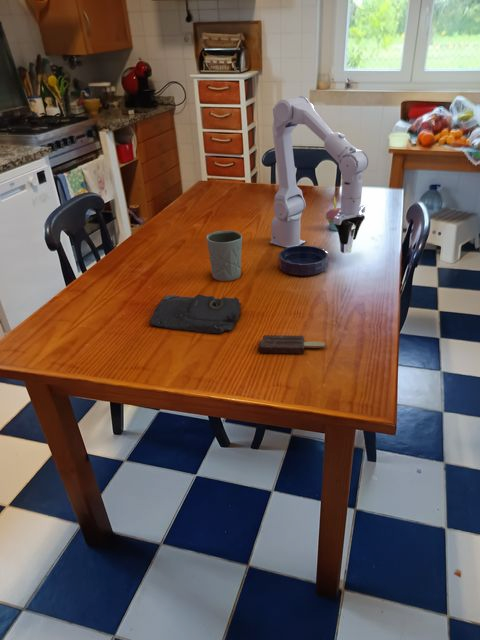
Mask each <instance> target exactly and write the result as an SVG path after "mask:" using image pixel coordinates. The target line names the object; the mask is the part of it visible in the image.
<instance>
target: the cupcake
mask: <svg viewBox="0 0 480 640" xmlns="http://www.w3.org/2000/svg"><path fill="white" fill-rule="evenodd" d="M336 198H337V197H335V195H333V208H331V209H329V210H328V211H327V212H326V213H325V219H326V220H327V221H328V223H329V224H328V225H329V227H330V230H332V231H337V228H336V226H335V224H334V217H336V216H337V214H338V213H339V211H340V209H341V207H337V199H336Z"/></svg>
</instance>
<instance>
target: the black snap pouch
mask: <svg viewBox="0 0 480 640" xmlns="http://www.w3.org/2000/svg"><path fill="white" fill-rule="evenodd" d="M241 305H242V303H241V302H240V299H239V298H238V297H226V296H222V297H221V298H216V297H215V296H214V295H209V296H208V295H204V294H197V295H195V296H194V297H193V296H179V295H174V294H173V295H169V294H168V295H165V296H164V297H163V298H162V299H160V301H159V303H158V304H157V305H156V306H155V308H154V310H153V312H152V315H150V318H149V319H150V320H149V321H150V322H149V325H151V326H155V327H158V328H162V329H169V330H175V331H183V332H192V333H193V332H194V333H195V332H196V333H204V334H205V333H207V334H219V335H220V334H222V333H224V332H231V331H232V330H233V329H235V324H236V323H237V321H238V320H239V317H240V314H241V309H242V308H241Z"/></svg>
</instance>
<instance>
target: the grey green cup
mask: <svg viewBox="0 0 480 640" xmlns="http://www.w3.org/2000/svg"><path fill="white" fill-rule="evenodd" d="M205 238H206V244H207V250H208V253H209V262H210V266H211V267H210V268H211V269H210V270H211V275H212V278H213V279H214V280H217V281H218V282H219V281H220V282H230V281H235V280H237V279H239V278H240V277H241V275H242V250H243V249H242V248H243V247H242V246H243V235H242V233H240V232H238V231H235V230H218V231H213V232H210V233H209V234H207V235H206V237H205Z"/></svg>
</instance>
